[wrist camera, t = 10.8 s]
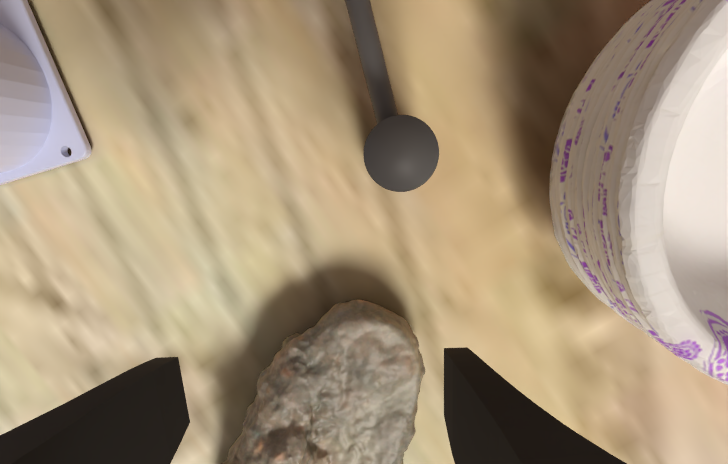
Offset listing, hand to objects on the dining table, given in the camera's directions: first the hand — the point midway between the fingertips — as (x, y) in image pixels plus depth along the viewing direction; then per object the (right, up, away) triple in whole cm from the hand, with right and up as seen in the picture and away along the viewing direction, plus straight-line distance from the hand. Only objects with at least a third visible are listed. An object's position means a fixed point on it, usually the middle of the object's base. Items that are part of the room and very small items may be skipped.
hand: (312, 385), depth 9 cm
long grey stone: (-4, -15, +14) cm, 21 cm away
